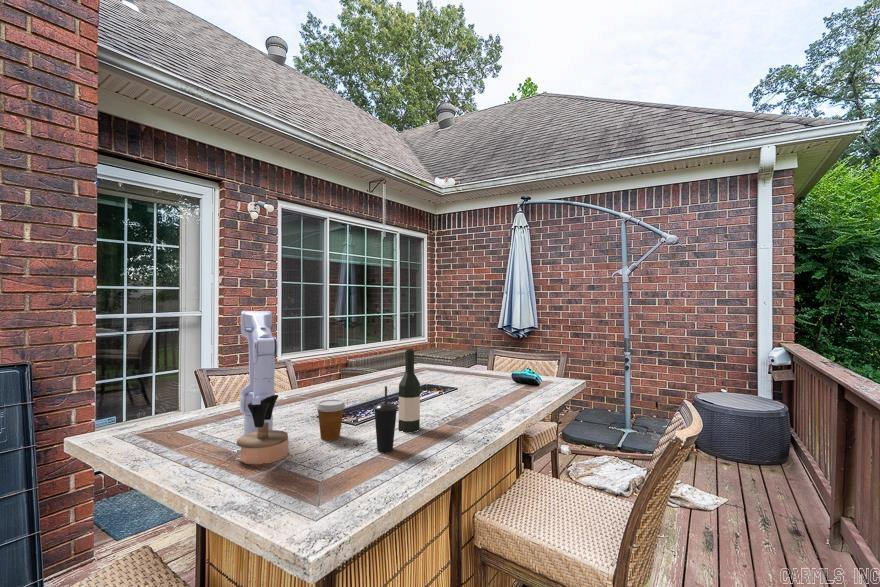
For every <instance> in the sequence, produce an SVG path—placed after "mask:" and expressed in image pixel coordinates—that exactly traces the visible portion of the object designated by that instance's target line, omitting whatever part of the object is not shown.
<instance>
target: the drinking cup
mask: <svg viewBox="0 0 880 587" xmlns="http://www.w3.org/2000/svg"><path fill="white" fill-rule="evenodd" d="M398 409H399V405H397V404H395V403H392V402H389V401H388V386H387V385H385V386H384V402H380V403H377V404H375V405H374V406H373V410H374V423H375V435H376V436H375V437H376V450H377V452H378V451H379V452H378V453H381V452H384V453H383V454H385V453H386V452H388V453H390V452H391V453H392V451H393V450H394V442H395V433H396V432H395V431H396V430H395V429H396V421H397V414H398V413H397V410H398Z"/></svg>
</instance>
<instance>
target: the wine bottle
mask: <svg viewBox="0 0 880 587" xmlns="http://www.w3.org/2000/svg"><path fill="white" fill-rule="evenodd" d="M404 367H405V372H404V374H403V376H402V378H401V380H400V381H399V384H398V427H397V430H399V431H398V432H400V431H403V432H414V431H417V430H419V429H421V428H420V427H421V426H420V417H421V415H420V414H421V408H420V407H421V402H420V401H421V383H420V380H419V379H418V377H417V376H416V373H415V350H414V348H413V347H407V348H406V350H405V366H404ZM419 431H420V430H419ZM403 432H402V433H403ZM417 432H418V431H417ZM414 433H415V432H414Z"/></svg>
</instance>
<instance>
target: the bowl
mask: <svg viewBox="0 0 880 587" xmlns="http://www.w3.org/2000/svg"><path fill="white" fill-rule="evenodd" d="M240 450H241V453H240V461H241V462H242V463H244V464H245V465H262V464H263V463H265V464H271V463H274V461H275V462H277V460H278V461H280V460H283V459H284V458H286V457H287V456H288V455H289V437H288V438H287V440H286V441H284V442H282V443H280V444H277V445H274V446H269V447H263V448H243V447H240Z"/></svg>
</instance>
